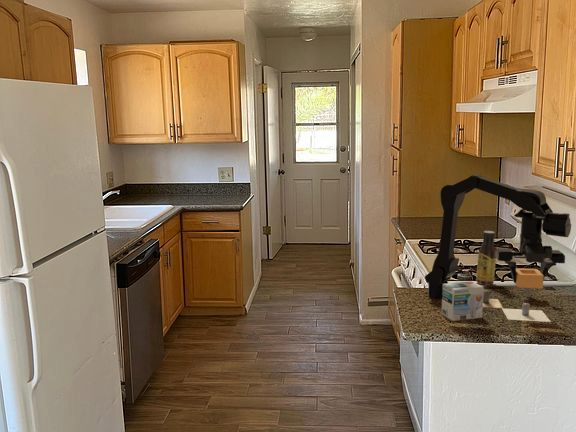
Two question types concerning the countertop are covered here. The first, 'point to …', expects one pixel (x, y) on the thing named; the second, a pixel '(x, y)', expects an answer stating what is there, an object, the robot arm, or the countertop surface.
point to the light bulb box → (462, 300)
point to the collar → (529, 278)
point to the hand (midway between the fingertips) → (527, 283)
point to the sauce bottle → (486, 259)
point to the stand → (490, 301)
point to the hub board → (527, 318)
